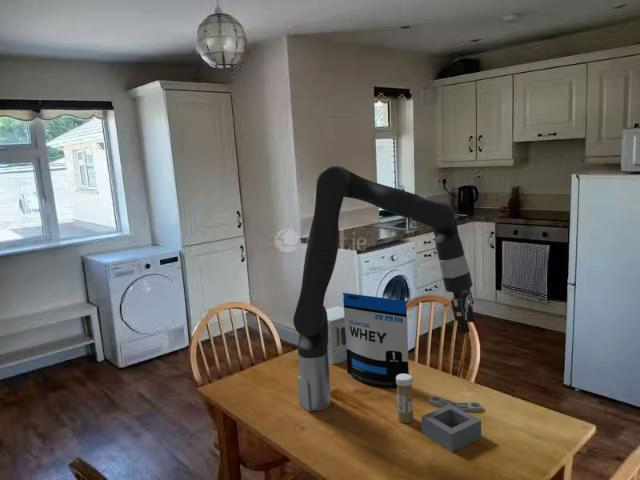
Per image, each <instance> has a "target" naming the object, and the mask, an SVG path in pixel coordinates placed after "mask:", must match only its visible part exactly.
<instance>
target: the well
mask: <svg viewBox="0 0 640 480" xmlns="http://www.w3.org/2000/svg"><path fill="white" fill-rule="evenodd" d="M451 426H452V427H451ZM421 433H422V434H423V435H425V436H426V437H428V438H429V439H431V440H432V441H434V442H435V443H436V444H439V445H440V446H441V447H443V448H444V449H446V450H448V451H449V452H451V453H453V452H455V451H457V450H459V449H461V448H463V447H466V446H467V445H470V444H471V443H473V442H475V441H477V440H480V439H482V420H481V419H479V418H478V417H476V416H474V415H471V414H470V413H468V412H467V411H463V410H461V409H459V408H457V407H455V406H453V405H451V404H449V405H447V406H445V407H440V408H437V409H436V410H434V411H431V412H429V413H426V414H424V415H421Z"/></svg>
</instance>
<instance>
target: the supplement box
mask: <svg viewBox="0 0 640 480" xmlns="http://www.w3.org/2000/svg"><path fill="white" fill-rule="evenodd" d="M325 309H326V312H327V319H328V364H331V365H332V366H334V365H337V364H339V363H342V362H345V361H346V362H347V347H346V334H345V319H344V307H342V306H339V305H337V306H334V307H330V308H325Z"/></svg>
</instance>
